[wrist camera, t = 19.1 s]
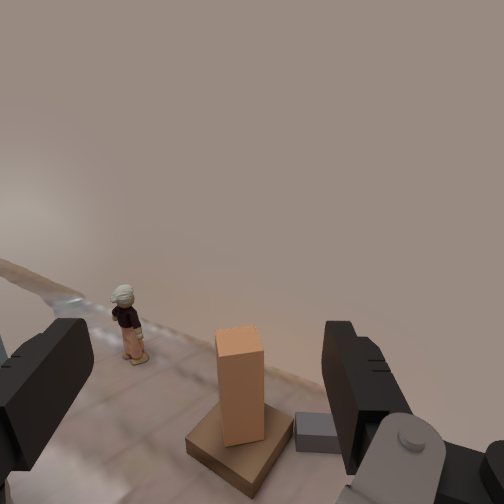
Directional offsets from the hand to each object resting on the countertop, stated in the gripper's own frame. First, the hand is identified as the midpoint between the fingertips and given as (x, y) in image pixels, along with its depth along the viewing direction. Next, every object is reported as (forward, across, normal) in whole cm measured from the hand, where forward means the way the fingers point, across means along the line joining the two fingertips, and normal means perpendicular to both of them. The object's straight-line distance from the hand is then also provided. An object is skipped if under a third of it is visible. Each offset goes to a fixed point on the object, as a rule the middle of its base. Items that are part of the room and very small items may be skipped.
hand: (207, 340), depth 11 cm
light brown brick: (+18, 0, -27) cm, 32 cm away
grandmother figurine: (+33, -18, -30) cm, 48 cm away
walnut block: (+18, 0, -30) cm, 35 cm away
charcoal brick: (+18, +10, -30) cm, 36 cm away
